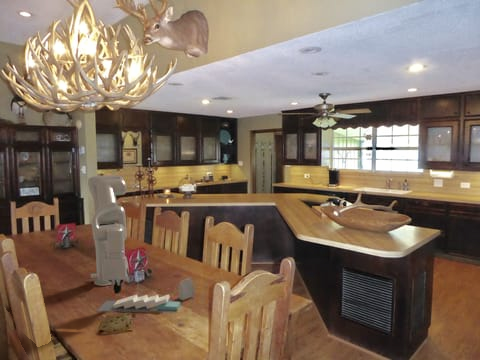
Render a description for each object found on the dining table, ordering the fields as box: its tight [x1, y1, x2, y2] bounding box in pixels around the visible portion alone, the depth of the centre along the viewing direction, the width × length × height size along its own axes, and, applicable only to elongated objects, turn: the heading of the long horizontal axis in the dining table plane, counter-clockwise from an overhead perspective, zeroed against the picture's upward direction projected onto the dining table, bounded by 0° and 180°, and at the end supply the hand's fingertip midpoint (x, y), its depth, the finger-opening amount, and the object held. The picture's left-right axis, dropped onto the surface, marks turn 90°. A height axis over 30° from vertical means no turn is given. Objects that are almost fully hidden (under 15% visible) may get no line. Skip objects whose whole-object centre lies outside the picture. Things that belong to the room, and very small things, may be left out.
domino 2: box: [124, 294, 149, 309], centre depth 155 cm, size 2×5×10 cm
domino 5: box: [156, 300, 181, 311], centre depth 154 cm, size 2×5×10 cm
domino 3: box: [135, 294, 160, 309], centre depth 155 cm, size 2×5×10 cm
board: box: [96, 300, 176, 314], centre depth 155 cm, size 36×10×1 cm, turn 86°
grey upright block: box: [177, 277, 195, 301], centre depth 165 cm, size 4×7×10 cm, turn 132°
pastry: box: [98, 312, 137, 336], centre depth 141 cm, size 17×17×3 cm
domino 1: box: [113, 294, 139, 308], centre depth 155 cm, size 2×5×10 cm
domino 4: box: [146, 294, 171, 309], centre depth 154 cm, size 2×5×10 cm
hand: (117, 292), depth 155 cm, fingers closed
